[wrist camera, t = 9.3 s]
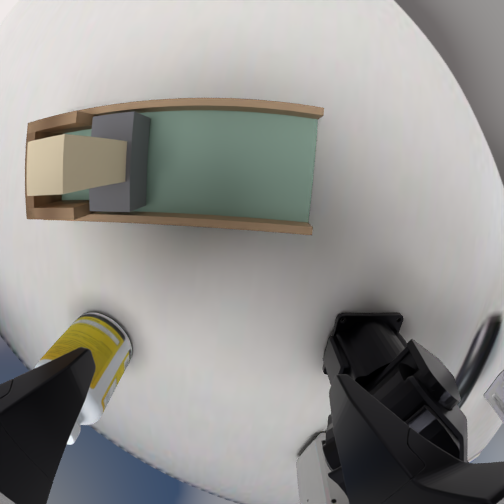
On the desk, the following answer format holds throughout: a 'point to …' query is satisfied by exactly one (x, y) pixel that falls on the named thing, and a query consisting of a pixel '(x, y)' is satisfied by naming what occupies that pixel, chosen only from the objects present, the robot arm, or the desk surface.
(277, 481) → the desk surface
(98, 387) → the pill bottle
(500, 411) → the game console
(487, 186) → the desk surface
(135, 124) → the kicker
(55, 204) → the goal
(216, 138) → the pitch
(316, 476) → the stereo radio cassette player
